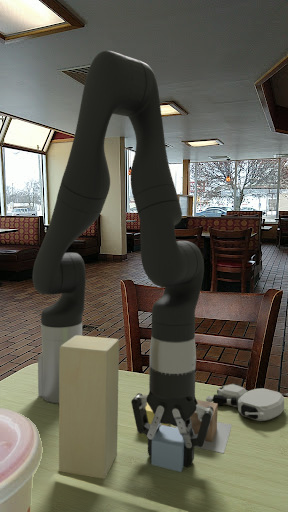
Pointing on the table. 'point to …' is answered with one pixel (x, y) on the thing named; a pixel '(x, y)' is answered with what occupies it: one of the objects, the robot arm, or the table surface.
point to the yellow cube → (151, 415)
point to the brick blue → (168, 448)
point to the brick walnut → (197, 423)
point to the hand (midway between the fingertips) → (170, 461)
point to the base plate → (218, 438)
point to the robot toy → (250, 401)
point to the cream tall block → (88, 405)
